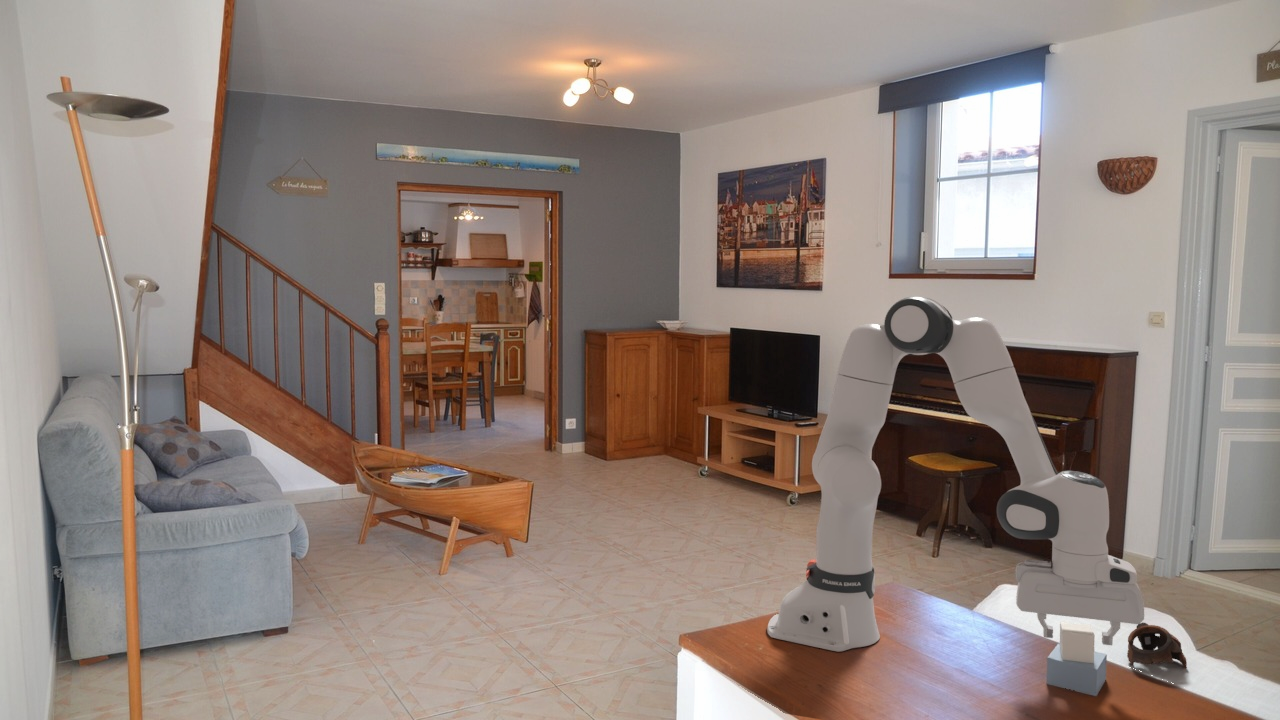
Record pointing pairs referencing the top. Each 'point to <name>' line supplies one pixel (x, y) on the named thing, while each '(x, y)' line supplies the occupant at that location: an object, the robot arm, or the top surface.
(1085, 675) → the slate block
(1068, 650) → the cream cube
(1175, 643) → the brown hollow ring shell
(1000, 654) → the top surface
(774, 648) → the top surface
